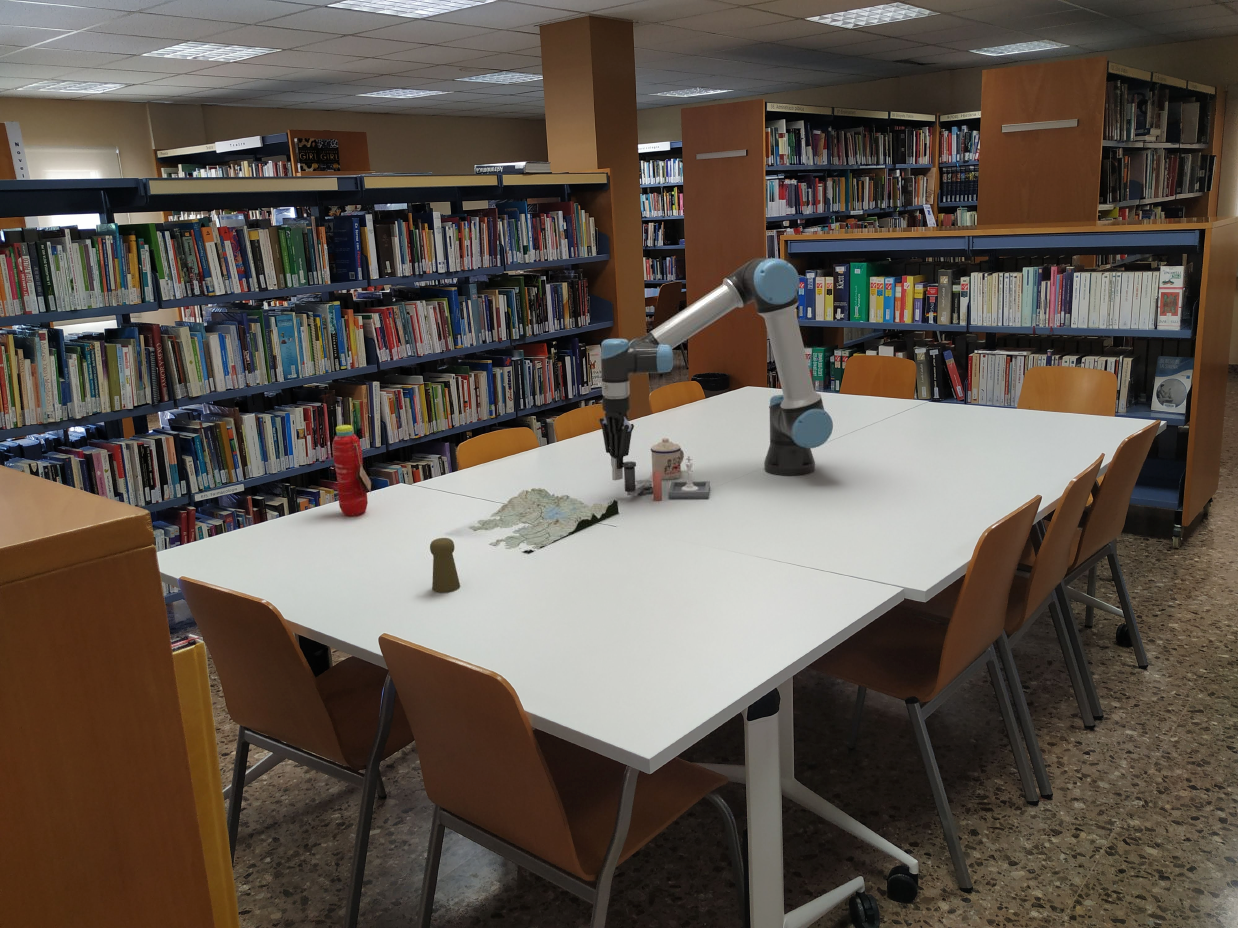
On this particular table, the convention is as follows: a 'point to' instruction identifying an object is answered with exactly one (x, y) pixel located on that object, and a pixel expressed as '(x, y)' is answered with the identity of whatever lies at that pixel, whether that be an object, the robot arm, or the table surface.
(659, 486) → the post
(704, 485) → the tray
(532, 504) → the topographic map model
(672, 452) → the teacup with lid
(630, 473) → the crank arm
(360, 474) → the water bottle
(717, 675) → the table surface
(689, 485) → the chess piece
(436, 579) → the cork
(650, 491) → the crank base
